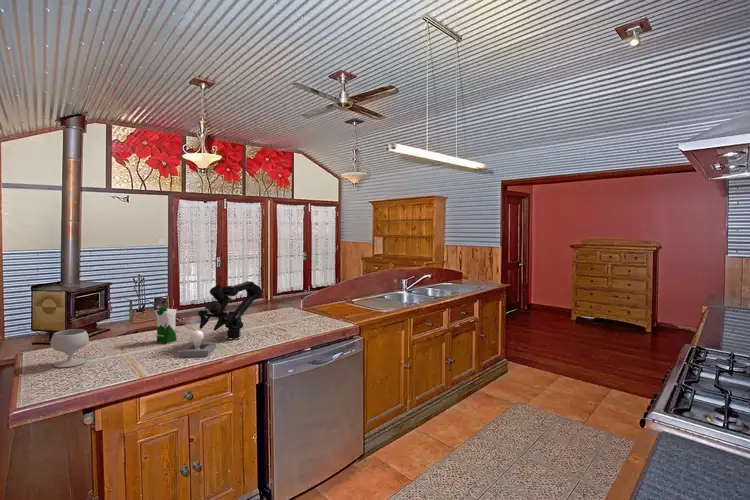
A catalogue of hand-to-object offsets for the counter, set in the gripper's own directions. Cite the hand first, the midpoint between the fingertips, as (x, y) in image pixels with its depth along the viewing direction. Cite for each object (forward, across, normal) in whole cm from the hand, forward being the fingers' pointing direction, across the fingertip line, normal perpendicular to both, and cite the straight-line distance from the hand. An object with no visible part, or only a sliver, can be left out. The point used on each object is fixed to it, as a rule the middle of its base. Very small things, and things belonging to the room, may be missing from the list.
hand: (207, 329), depth 203 cm
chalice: (+36, -43, -21) cm, 60 cm away
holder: (+12, 0, +3) cm, 12 cm away
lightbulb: (+12, 0, +2) cm, 12 cm away
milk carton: (+5, -31, +10) cm, 33 cm away
